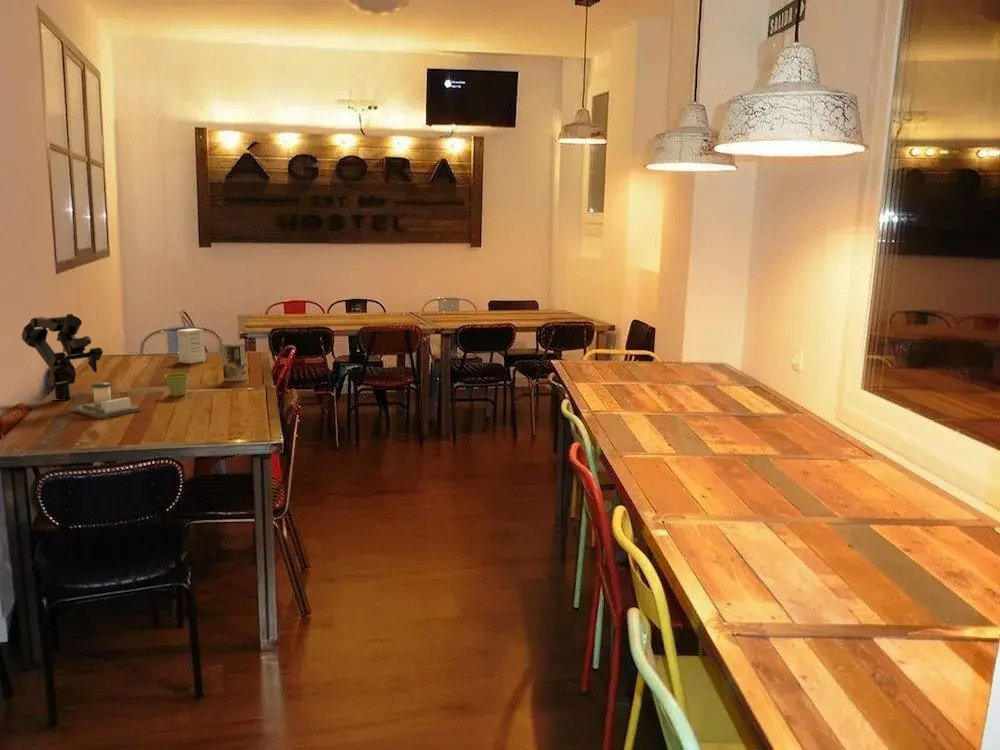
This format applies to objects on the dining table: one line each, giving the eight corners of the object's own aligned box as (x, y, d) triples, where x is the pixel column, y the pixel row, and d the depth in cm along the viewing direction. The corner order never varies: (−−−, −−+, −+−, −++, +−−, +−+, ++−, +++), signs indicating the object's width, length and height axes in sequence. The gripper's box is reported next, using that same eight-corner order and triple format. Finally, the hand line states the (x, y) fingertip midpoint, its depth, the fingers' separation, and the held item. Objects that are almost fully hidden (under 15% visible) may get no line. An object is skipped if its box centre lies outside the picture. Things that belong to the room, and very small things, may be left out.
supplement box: (206, 361, 427) (203, 329, 424) (191, 363, 420) (188, 331, 416) (194, 359, 432) (191, 327, 429) (179, 362, 425) (176, 329, 421)
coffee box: (248, 378, 382) (246, 344, 378) (242, 381, 375) (240, 346, 372) (229, 378, 382) (227, 344, 379) (223, 381, 376) (221, 346, 373)
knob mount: (71, 410, 318) (69, 397, 317) (111, 403, 331) (109, 390, 330) (99, 419, 305) (98, 404, 304) (140, 411, 318) (139, 397, 317)
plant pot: (164, 398, 341) (163, 377, 339) (167, 393, 350) (165, 373, 348) (188, 396, 343) (187, 376, 342) (190, 392, 352) (189, 372, 351)
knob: (90, 406, 318) (88, 384, 316) (107, 403, 323) (105, 381, 322) (99, 408, 314) (96, 386, 312) (116, 405, 319) (114, 383, 318)
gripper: (50, 332, 316) (67, 364, 312) (98, 327, 330) (115, 357, 326) (43, 350, 322) (59, 381, 318) (90, 344, 337) (106, 374, 332)
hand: (85, 373), depth 323 cm, fingers open, 8 cm apart
